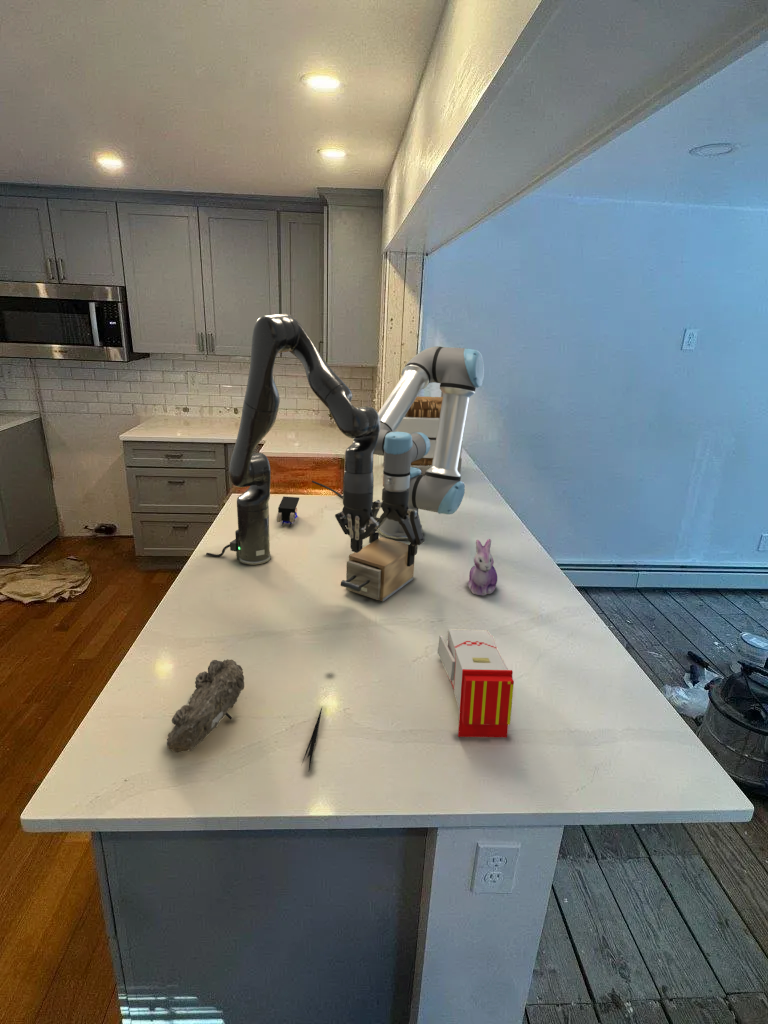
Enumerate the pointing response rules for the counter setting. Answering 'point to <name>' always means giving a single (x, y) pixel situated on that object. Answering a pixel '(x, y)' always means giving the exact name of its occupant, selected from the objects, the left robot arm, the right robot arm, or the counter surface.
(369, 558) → the cabinet
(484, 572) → the figurine
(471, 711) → the toy
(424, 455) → the right robot arm
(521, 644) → the counter surface
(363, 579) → the drawer
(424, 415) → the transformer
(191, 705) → the fossil
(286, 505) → the figurine character
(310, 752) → the feather
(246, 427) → the left robot arm
